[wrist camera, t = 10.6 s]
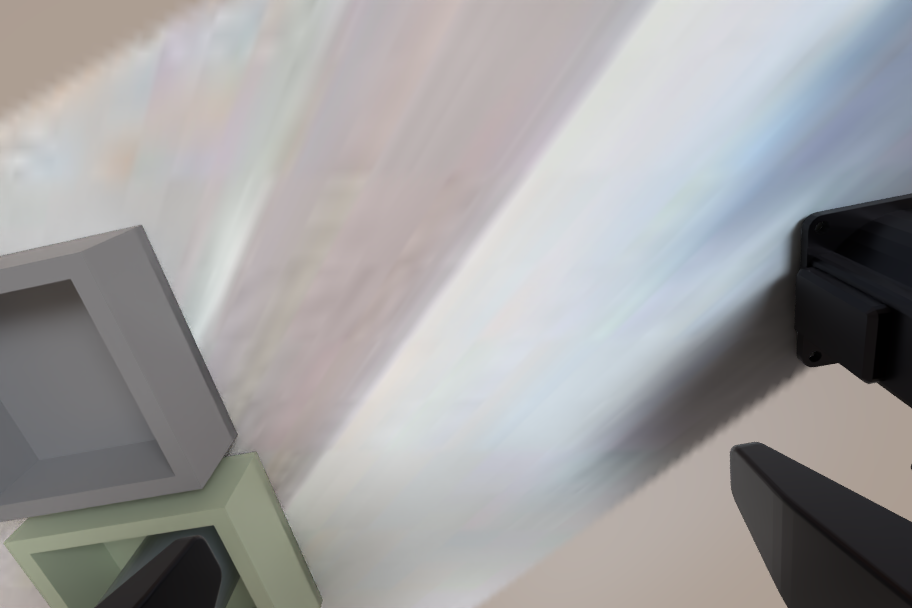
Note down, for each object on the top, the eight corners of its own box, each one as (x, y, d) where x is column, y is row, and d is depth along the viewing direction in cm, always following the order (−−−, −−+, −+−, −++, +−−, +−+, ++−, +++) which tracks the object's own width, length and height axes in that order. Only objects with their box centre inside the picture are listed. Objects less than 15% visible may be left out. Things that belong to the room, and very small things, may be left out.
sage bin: (256, 451, 25) (224, 507, 21) (322, 600, 28) (304, 666, 25) (61, 484, 26) (3, 543, 22) (150, 623, 29) (111, 690, 26)
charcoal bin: (141, 224, 20) (80, 251, 17) (237, 434, 24) (202, 488, 21) (-86, 275, 21) (-184, 309, 18) (40, 468, 25) (-22, 525, 22)
